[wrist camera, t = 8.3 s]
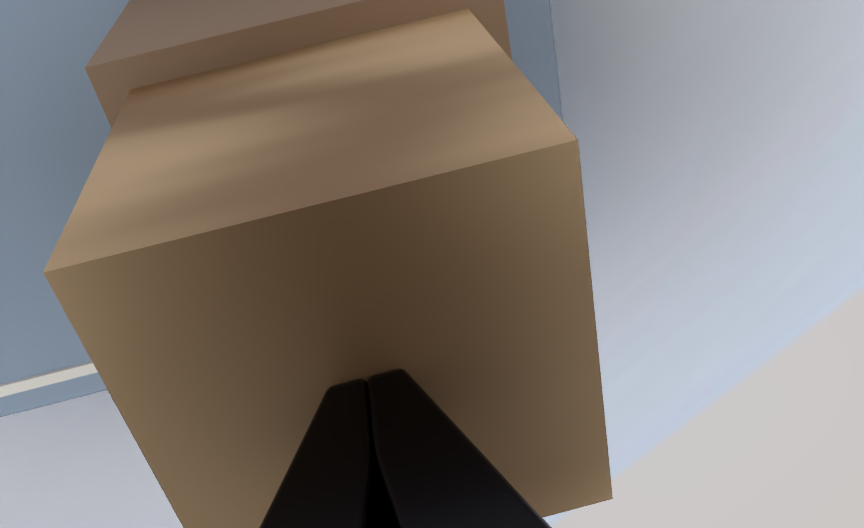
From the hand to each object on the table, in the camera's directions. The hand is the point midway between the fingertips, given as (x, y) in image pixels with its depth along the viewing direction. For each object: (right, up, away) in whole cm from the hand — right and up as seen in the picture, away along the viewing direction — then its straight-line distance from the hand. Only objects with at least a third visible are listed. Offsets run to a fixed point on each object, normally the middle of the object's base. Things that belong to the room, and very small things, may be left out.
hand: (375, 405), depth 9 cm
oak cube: (-1, +3, +4) cm, 5 cm away
